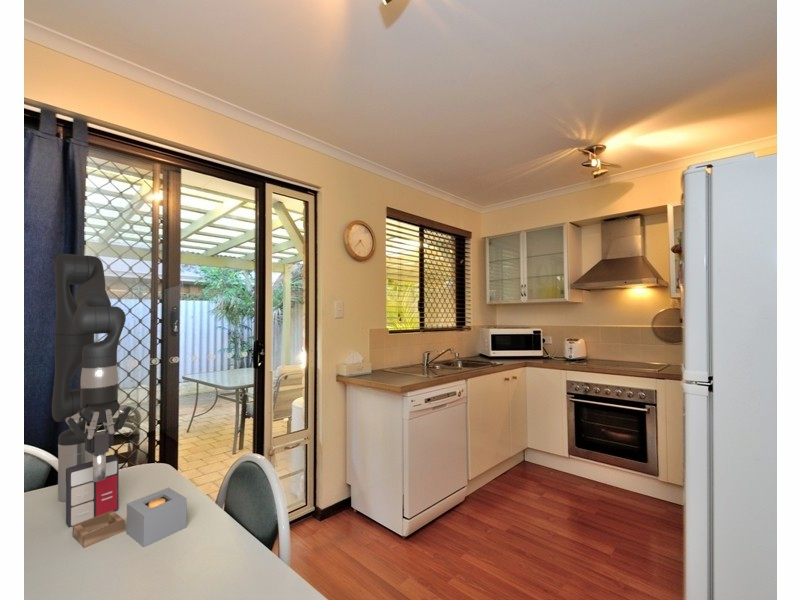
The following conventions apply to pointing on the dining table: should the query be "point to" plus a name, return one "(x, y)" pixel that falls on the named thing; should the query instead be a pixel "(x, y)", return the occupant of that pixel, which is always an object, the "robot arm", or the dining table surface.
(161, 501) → the button
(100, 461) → the stylus
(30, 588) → the dining table surface
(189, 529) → the dining table surface
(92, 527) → the wooden square frame
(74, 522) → the calculator
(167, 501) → the guard box
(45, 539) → the dining table surface
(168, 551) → the dining table surface
